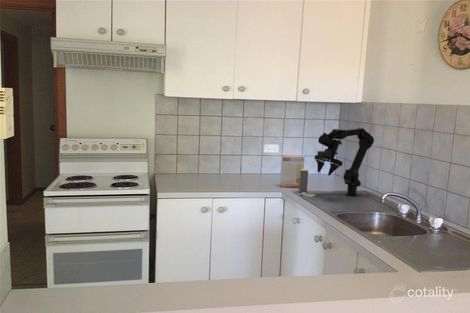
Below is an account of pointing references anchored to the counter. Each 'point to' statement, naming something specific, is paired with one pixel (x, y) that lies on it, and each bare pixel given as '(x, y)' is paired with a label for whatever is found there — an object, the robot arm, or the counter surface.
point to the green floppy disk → (307, 194)
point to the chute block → (303, 180)
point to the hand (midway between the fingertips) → (323, 173)
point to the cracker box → (291, 170)
